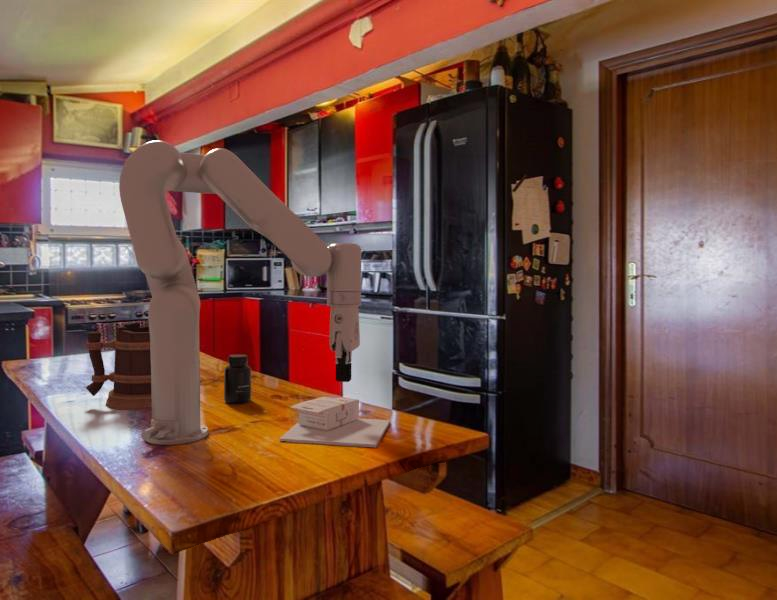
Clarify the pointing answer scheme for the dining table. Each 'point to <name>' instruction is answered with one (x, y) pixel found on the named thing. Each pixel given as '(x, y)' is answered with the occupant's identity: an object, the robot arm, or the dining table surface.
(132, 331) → the mug
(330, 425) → the ink cartridge box
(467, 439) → the dining table surface
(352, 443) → the mat
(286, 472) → the dining table surface
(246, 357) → the supplement bottle
